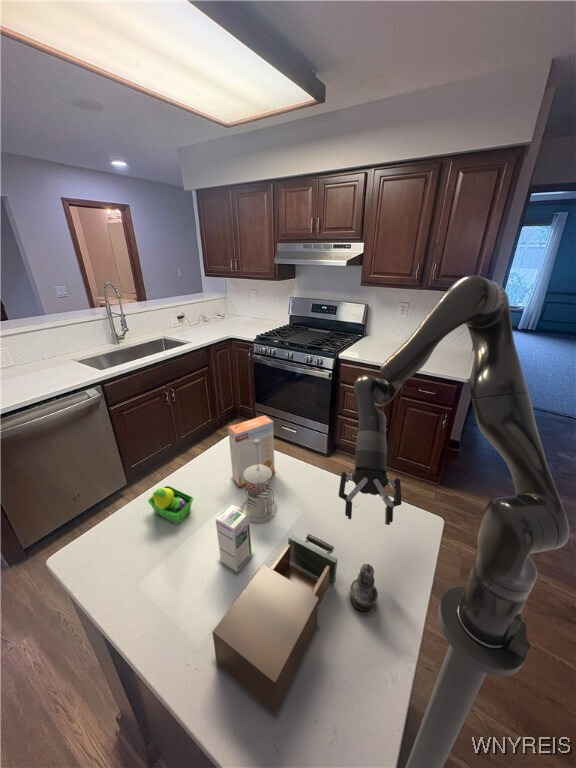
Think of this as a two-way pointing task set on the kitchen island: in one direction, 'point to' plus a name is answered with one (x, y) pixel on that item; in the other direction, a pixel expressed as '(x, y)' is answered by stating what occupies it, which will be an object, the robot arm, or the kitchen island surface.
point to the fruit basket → (171, 503)
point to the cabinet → (266, 635)
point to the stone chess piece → (364, 590)
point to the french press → (258, 492)
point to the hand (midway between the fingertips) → (368, 521)
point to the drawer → (308, 564)
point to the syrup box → (234, 537)
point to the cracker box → (251, 446)
